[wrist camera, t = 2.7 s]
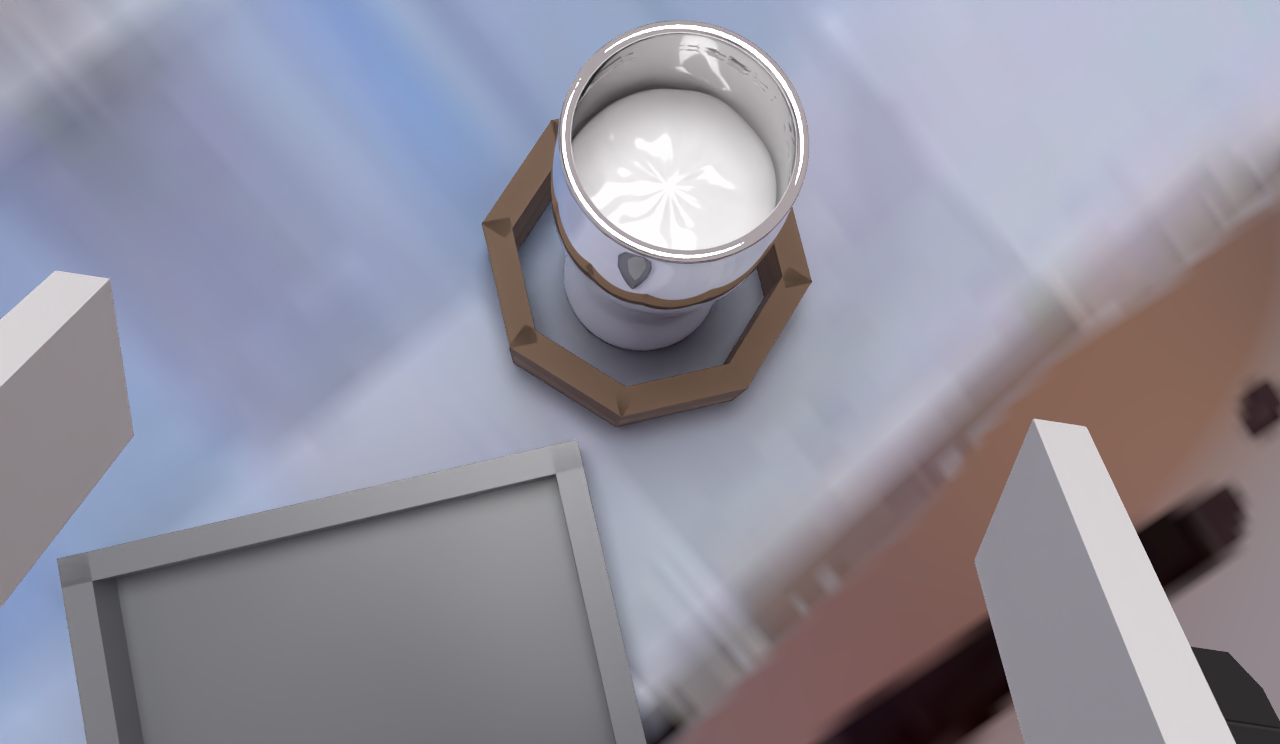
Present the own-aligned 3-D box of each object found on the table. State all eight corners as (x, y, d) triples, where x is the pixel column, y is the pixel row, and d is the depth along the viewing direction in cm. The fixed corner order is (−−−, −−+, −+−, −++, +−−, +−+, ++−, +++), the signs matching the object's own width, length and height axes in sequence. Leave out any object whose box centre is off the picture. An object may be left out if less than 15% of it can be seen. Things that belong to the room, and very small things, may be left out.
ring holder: (531, 446, 41) (529, 438, 38) (470, 169, 43) (462, 137, 39) (812, 382, 43) (835, 368, 39) (743, 114, 44) (759, 78, 41)
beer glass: (761, 306, 43) (868, 186, 28) (610, 395, 42) (639, 320, 27) (670, 159, 44) (727, -34, 29) (519, 244, 43) (499, 89, 28)
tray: (155, 923, 38) (121, 956, 35) (94, 557, 40) (56, 558, 37) (654, 790, 40) (662, 811, 37) (575, 446, 42) (576, 439, 39)
